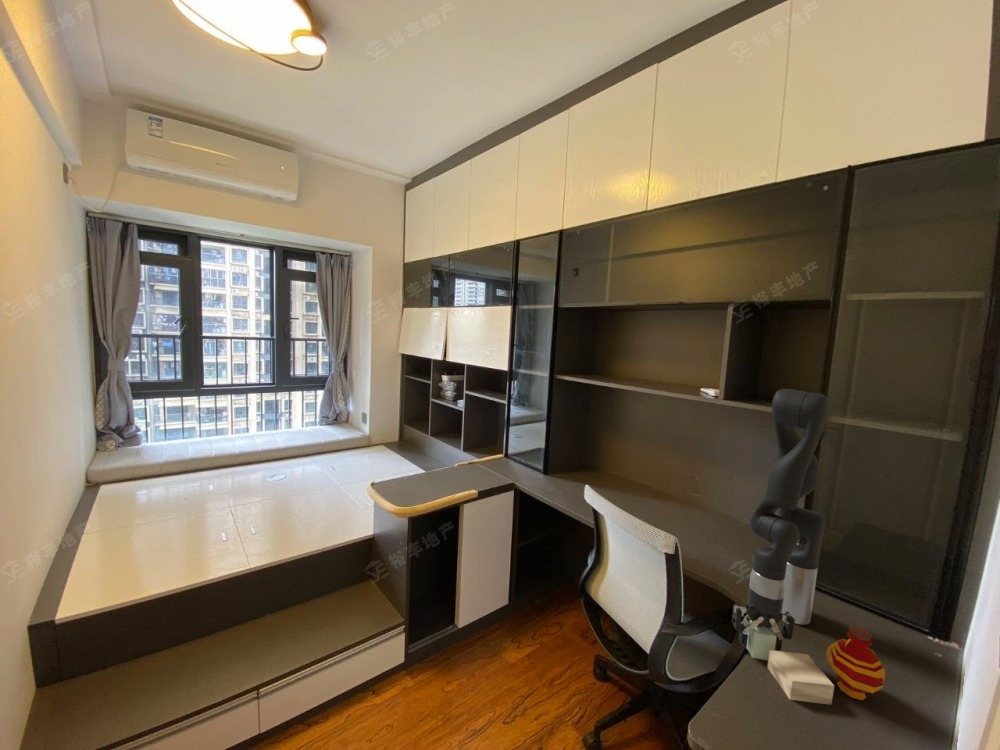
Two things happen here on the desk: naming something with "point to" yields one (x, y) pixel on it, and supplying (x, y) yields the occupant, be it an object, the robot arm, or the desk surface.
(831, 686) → the beech base
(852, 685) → the potion bottle
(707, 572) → the desk surface
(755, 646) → the green block
